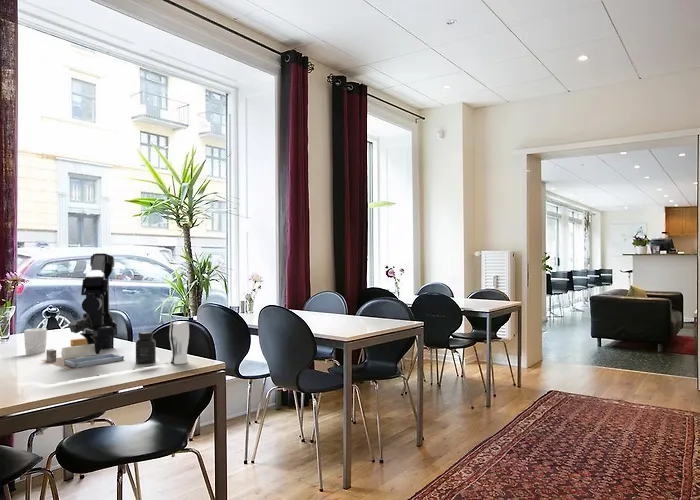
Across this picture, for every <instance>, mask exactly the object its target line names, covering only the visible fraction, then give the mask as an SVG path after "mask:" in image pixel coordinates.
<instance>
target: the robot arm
mask: <svg viewBox="0 0 700 500" xmlns="http://www.w3.org/2000/svg"><path fill="white" fill-rule="evenodd" d="M89 265H90V267H91V269H90V271H89V272H87V273H86V274H85V275H84V276H85V277H84V278H83V279H82V282H81V283H82V284H81V293H80V294H81V296H85V298H84V299H83V301H82V302H81V308H82V310H83V311H84V312H83V314H82V318H78V319H76V320H74V321H72V322H70V323H68V328H69V330H70V332H71V333H73V334H78V333H80V335H81V336H82V337H83V338H86V341H87V344H94V346H95V353H96V354H99V353H100V351H101V352H102V350H108V349H113V350H116V348H114V341H115V340H114V339H115V338H114V336H117V335H118V324H117V323H116V320H114V315H113V313H112V312H111V311H110V280H109V279H110V278H109V277H110V276H111V274H112V272H113V270H114V268H115V258H114V256H113V255H110V254H108V253H106V252H95V253H93V254H92V255H91V256H90V264H89ZM100 354H101V353H100Z"/></svg>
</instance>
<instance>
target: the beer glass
mask: <svg viewBox="0 0 700 500" xmlns="http://www.w3.org/2000/svg"><path fill="white" fill-rule="evenodd" d="M189 323H190V322H189V321H184V320H183V321H180V320H179V321H178V320H177V321H171V322H170V323H169V342H170V349H171V359H170V364H171V365H176V366H177V365H185V364H188V363H189V360H188V347H189V340H190V324H189Z"/></svg>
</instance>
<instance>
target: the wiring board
mask: <svg viewBox="0 0 700 500" xmlns="http://www.w3.org/2000/svg"><path fill="white" fill-rule="evenodd" d="M97 355H104V354H103V353H100V354H96V355H89V356H83V357H76V358H69V359H63V358H62V356H61V357H57V349H53V348H51V349H46V359H42V360H40V361H42V362H44V363H47V364H50V365H54V366H56V367H59V368H62V369H66V370H68V371H70V370H75V369H78V368H73V367H70V366H67V365H64V360H70V359H77V358H84V357H90V356H97ZM125 361H126V360H125V359H124V360H123V361H122V362H125ZM119 362H120V361H117V362H116V363H119ZM111 363H114V362H110V363H109V364H111ZM106 364H107V365H108V363H104V364H103V365H106ZM99 365H102V364H98V365H97V366H99ZM93 366H96V365H92V366H91V367H93ZM87 367H90V366H86V367H85V368H87ZM82 368H84V367H80V368H79V369H82Z"/></svg>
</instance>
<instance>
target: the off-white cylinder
mask: <svg viewBox="0 0 700 500" xmlns="http://www.w3.org/2000/svg"><path fill="white" fill-rule="evenodd" d="M101 352H102V350H101V351H100V353H99V354H102V353H101ZM60 354H61V357H62V358H63V359H69V358H76V357H83V356H89V355H96V353H95V346H94V344H87V345H80V346H73V347H72V346H67V347H62V349H61V353H60Z"/></svg>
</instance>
